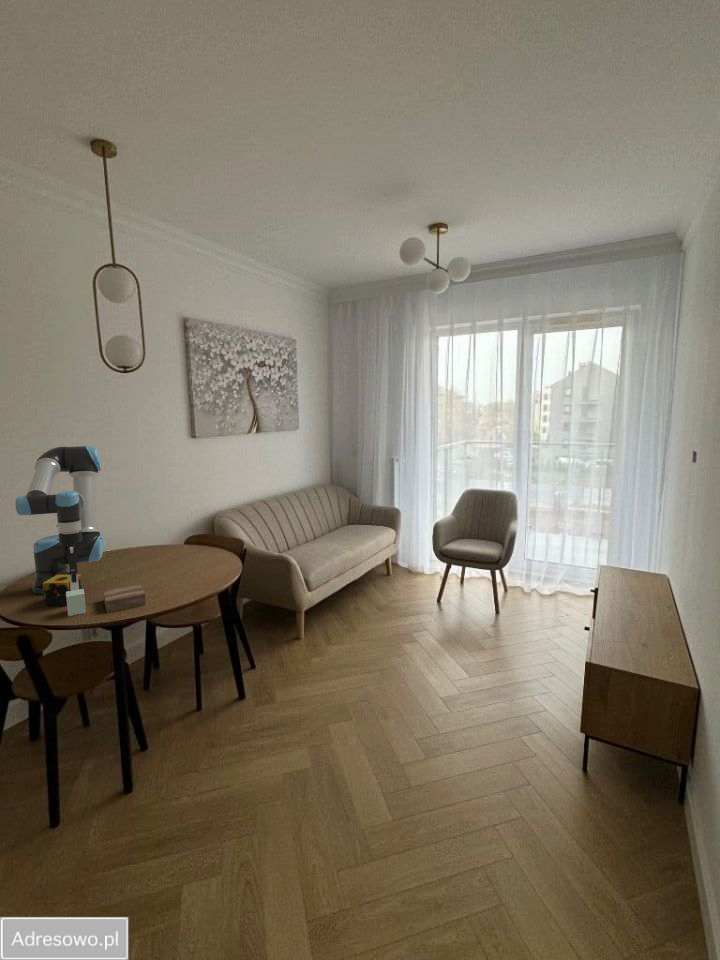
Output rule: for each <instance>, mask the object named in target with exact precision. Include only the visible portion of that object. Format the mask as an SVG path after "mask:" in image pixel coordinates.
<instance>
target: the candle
mask: <svg viewBox="0 0 720 960" xmlns="http://www.w3.org/2000/svg"><path fill="white" fill-rule="evenodd" d="M81 580H82V576H81V574H80V573H78V583H79V589H83V587H82V584H81ZM43 590H44V594H43V595H44V599H43V600H44V605H45V606H49V605H50V606H53V605H54V606H67V598H66V592H68V591H71V588H70V576H69V575H56V576H54V577H52V578H51V579H49V580H47V581H45V582H43Z"/></svg>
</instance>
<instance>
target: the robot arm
mask: <svg viewBox="0 0 720 960" xmlns="http://www.w3.org/2000/svg"><path fill="white" fill-rule="evenodd" d="M34 470H35V472H34V474H33V476H32V479H31V482H30V484H29V487H28V490H27V492H26V495H22V496H21V495H20V496H17V497H16V499H15V503H14V505H15V511H16V512H17V513H16V514H18V515H19V516H34V515H35V516H36V515H48V514H51V515H52V514H56V516H57V519H56V520H57V524H56V525H55V527H56V528H58V529H57V530H58V534H54V535H48V536H45V537H42V538H40V539H38V540H36V541H35V542H34V543H33V552H32V553H33V558H34V567H35V577H34V580H33V583H32V592H33V594H37V595H44V590H43V582H45V581H47V580H49V579H51V578H52V577H54V576H56V575H69V576H70V588H71V591H73V590H79V583H78V574H79V570H78V565H77V564H83V563H91V562H98V561H100V560H101V559H102V558H103V553H104V549H105V548H104V545H105V537H104V535H102V534H101V531H100V530H99V529H97V514H96V480H95V478H96V477H97V476H98V475H99V472H100V471H102V462H101V457H100V453H99V450H98V448H97V447H96V446H87V445H84V446H83V445H82V446H57V447H54V448H51V449H48V450H46V451H45V452H44V453H43V454H41V455H40V456H39V457H38V458H37V459H36V462H35V464H34ZM61 472H63V473H64V472H65V473H68V472H69V473H68V475H69V476H70V477H71V478H72V481H73V482H72V485H73V487H72V489H73V490H72V491H71V490H69V491H62V492H61V491H60V492H57V493H55V494H51V491H52V488H53V485H54V482H55V479H56V476H57V475H58V474H60V473H61Z"/></svg>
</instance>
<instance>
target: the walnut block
mask: <svg viewBox="0 0 720 960" xmlns="http://www.w3.org/2000/svg"><path fill="white" fill-rule="evenodd" d="M102 591H103V601H104V606H105V611H106V613H107V612H108V613H111V611H112V612H115V611H114V610H117V611H121V610H120V609H122V610H126V609H125V608H127V609H131V608H130V607H132V608H137V607H141V606H140V605H142V606H146V593H145V591H144V590H143V587H142V585H141V583H137V584H136V583H135V584H134V583H133V584H128V585H125V586H118V587H113V588H112V587H111V588H107V589H103V590H102ZM136 606H137V607H136Z"/></svg>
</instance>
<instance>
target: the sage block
mask: <svg viewBox="0 0 720 960" xmlns="http://www.w3.org/2000/svg"><path fill="white" fill-rule="evenodd" d="M85 596H86V595H85V590H84V588H82V589H79V590H73V591H68V592H66V598H67V605H66V606H67V607H66V609H67V616H68V617H72V616H77V614H78V615H83V614H86V613H87V607H86V597H85ZM82 613H83V614H82Z"/></svg>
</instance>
